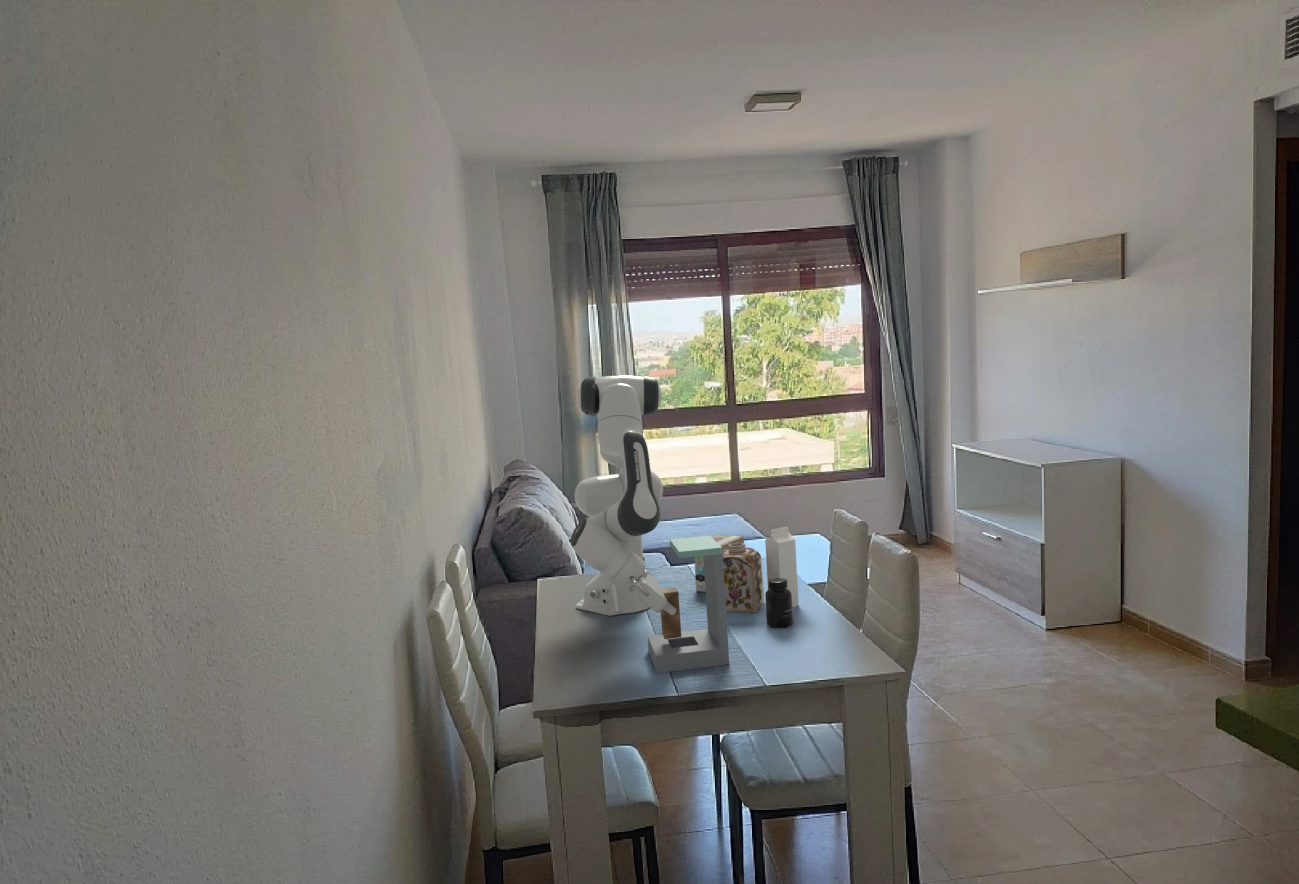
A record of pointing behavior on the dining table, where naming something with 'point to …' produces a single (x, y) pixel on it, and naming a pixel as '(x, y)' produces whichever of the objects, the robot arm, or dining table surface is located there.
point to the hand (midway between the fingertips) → (672, 609)
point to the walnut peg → (671, 622)
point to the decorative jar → (742, 579)
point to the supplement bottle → (778, 604)
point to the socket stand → (713, 641)
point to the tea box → (699, 562)
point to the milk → (782, 560)
